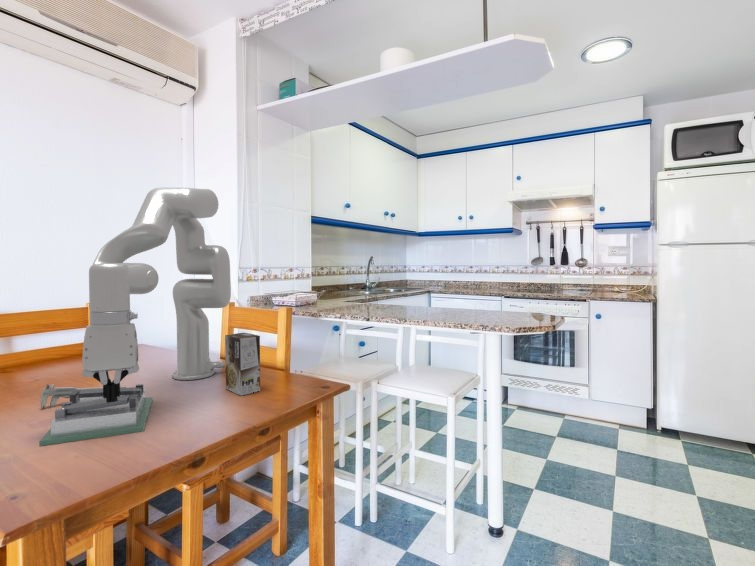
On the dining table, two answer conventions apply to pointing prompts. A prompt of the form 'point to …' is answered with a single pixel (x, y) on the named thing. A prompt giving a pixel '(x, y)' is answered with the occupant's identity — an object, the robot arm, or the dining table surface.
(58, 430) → the base
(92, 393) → the strap
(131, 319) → the robot arm
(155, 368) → the dining table surface
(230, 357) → the coffee box
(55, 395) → the caliper
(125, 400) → the strap
